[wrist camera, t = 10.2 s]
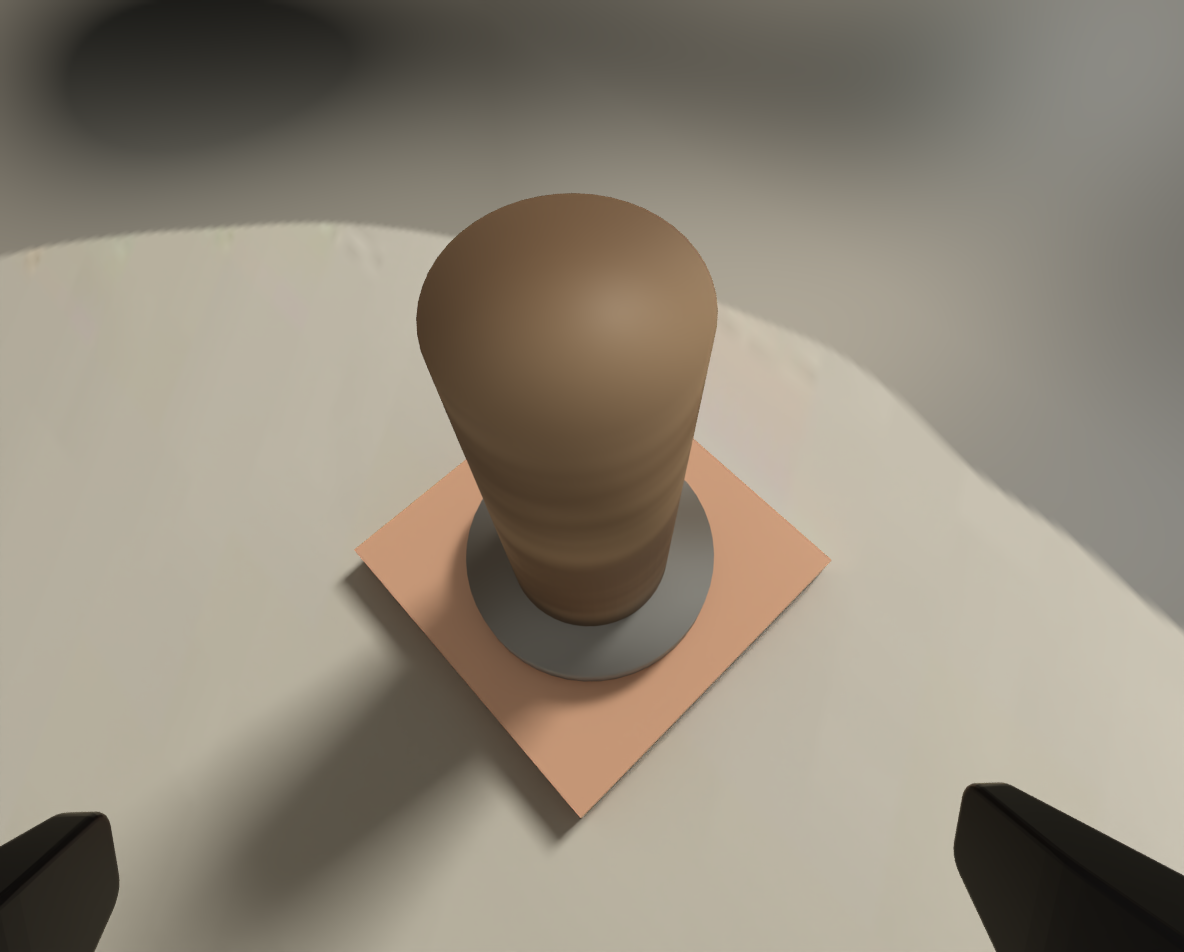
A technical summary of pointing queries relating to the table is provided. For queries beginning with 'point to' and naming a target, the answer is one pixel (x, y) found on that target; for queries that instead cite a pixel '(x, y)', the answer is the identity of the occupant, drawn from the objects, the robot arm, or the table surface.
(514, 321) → the tamper
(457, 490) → the tile rest
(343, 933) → the table surface
